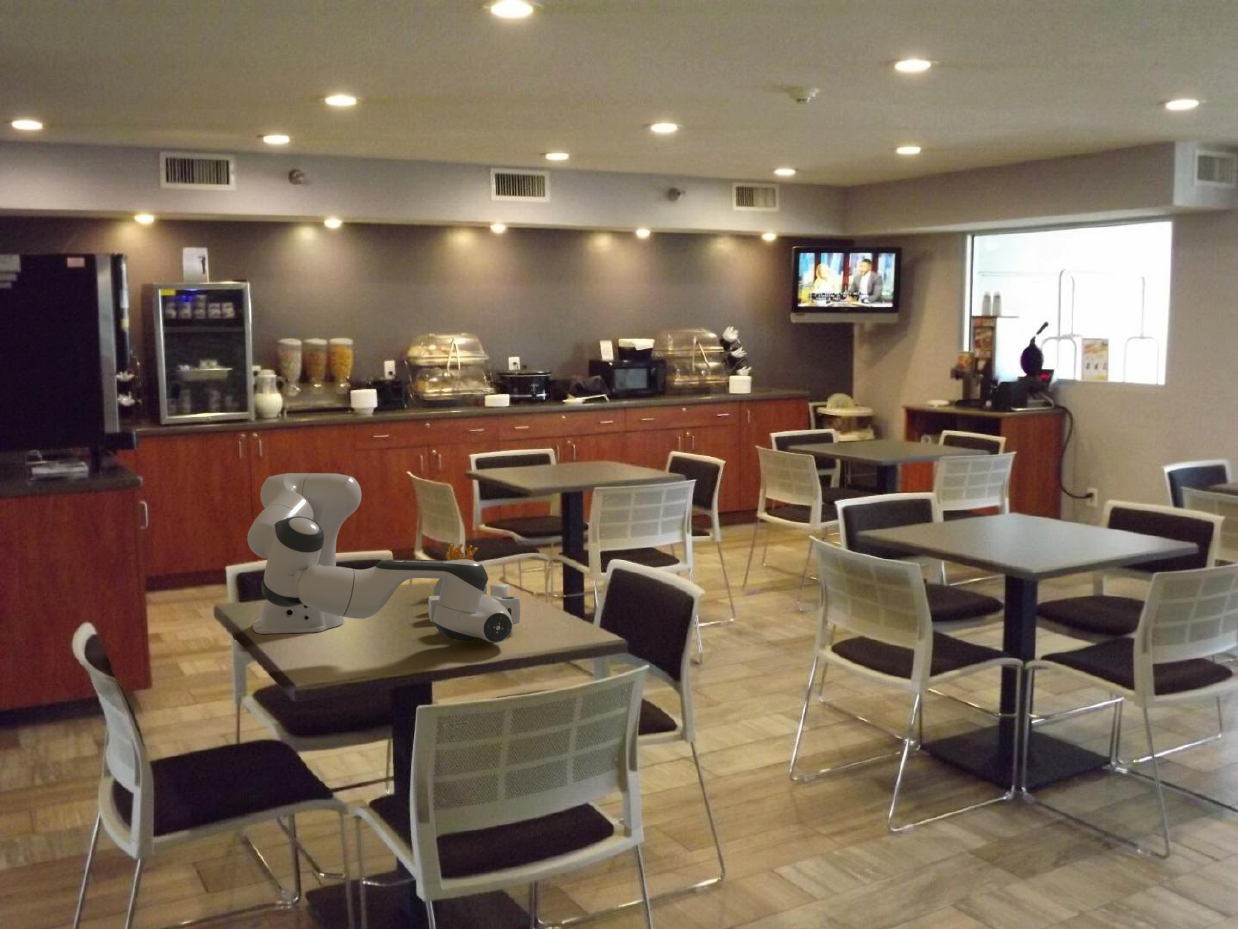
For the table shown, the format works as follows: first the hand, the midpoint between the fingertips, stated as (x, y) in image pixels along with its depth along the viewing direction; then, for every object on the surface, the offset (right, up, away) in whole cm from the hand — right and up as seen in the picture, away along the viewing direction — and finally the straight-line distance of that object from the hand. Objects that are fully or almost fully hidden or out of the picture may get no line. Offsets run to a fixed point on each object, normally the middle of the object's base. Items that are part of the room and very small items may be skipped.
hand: (474, 601), depth 299 cm
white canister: (+6, -5, +10) cm, 12 cm away
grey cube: (-10, -5, +5) cm, 12 cm away
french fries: (-8, -2, +36) cm, 37 cm away
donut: (-8, -4, +17) cm, 19 cm away
